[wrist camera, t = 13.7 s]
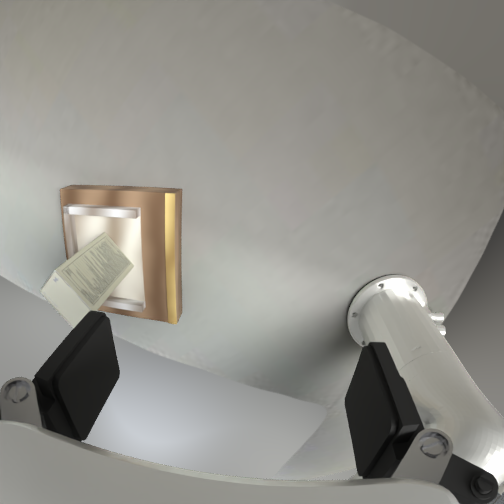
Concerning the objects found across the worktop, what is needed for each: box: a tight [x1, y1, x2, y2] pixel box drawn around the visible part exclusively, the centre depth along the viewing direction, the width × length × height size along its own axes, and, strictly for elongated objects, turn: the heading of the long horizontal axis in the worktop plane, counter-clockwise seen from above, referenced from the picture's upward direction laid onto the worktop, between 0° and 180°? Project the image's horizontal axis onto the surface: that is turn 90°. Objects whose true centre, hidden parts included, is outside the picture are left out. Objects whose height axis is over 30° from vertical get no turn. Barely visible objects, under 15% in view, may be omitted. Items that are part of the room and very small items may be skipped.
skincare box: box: [40, 232, 134, 329], centre depth 34 cm, size 6×4×12 cm
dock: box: [60, 185, 182, 324], centre depth 41 cm, size 17×18×4 cm
